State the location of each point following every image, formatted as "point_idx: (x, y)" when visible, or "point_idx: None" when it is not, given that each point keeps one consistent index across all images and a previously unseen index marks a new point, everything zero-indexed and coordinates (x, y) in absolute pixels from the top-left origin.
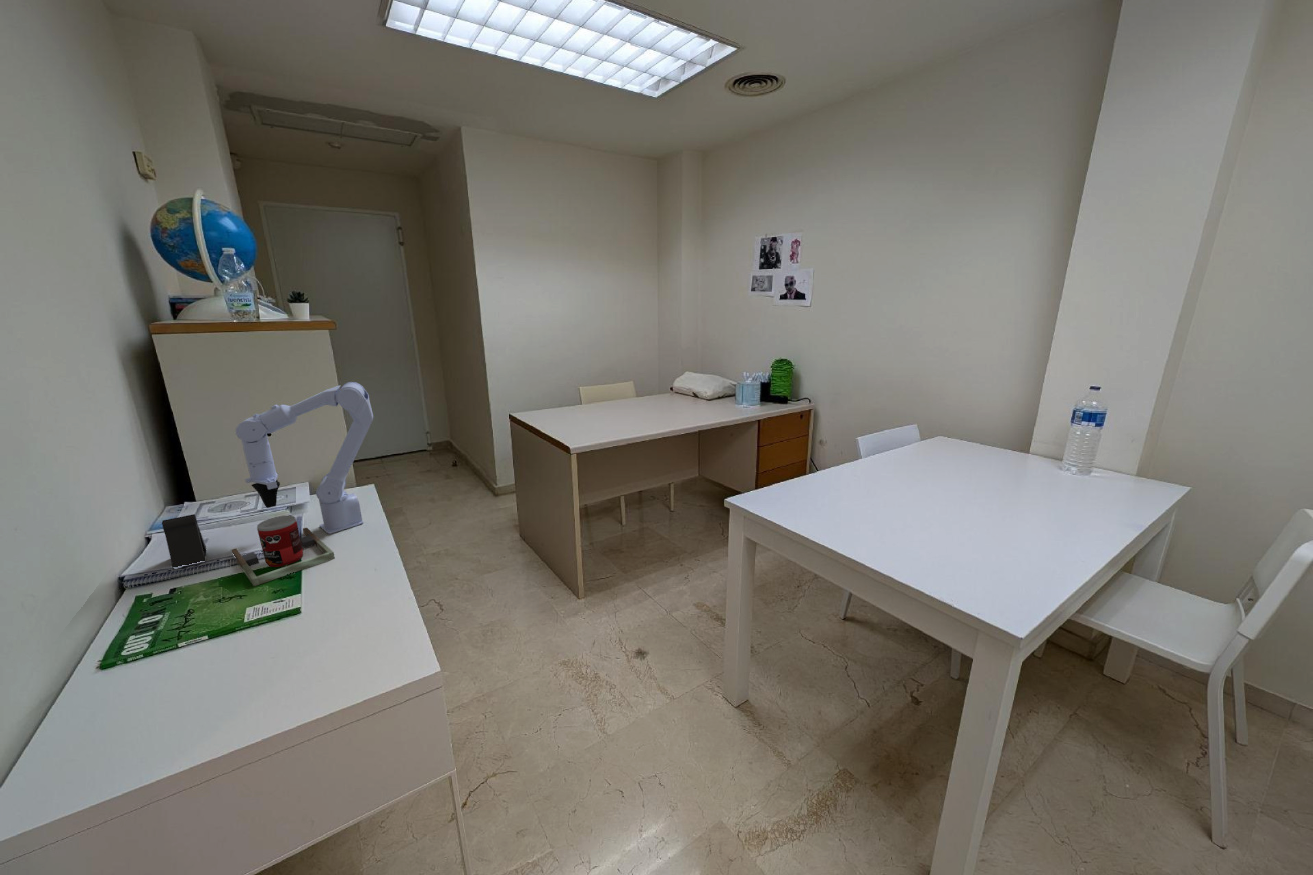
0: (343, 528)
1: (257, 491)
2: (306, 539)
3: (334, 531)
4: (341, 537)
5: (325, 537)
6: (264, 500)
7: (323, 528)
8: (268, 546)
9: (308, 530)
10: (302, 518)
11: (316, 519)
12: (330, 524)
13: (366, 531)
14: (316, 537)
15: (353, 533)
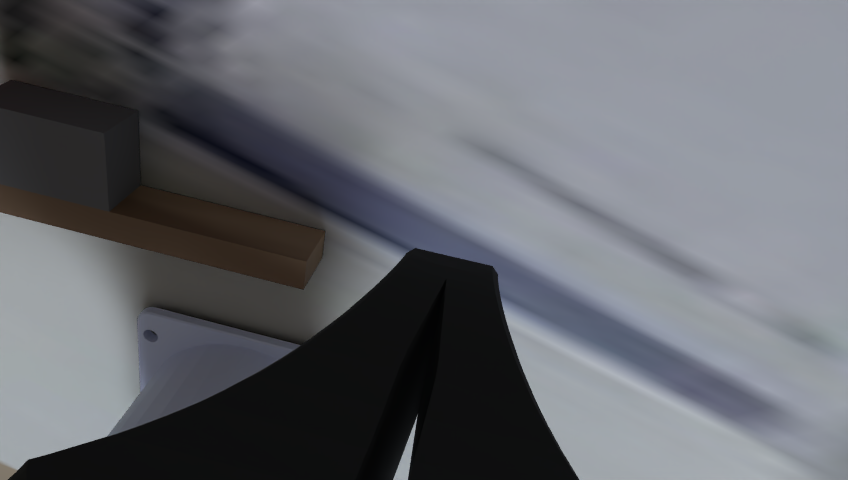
0: (140, 392)
1: (416, 476)
2: (20, 148)
3: (140, 342)
4: (30, 308)
5: (116, 265)
6: (336, 323)
7: (258, 343)
8: None
9: (218, 259)
10: (696, 406)
11: None
12: (157, 384)
13: (13, 417)
14: (8, 208)
15: (41, 373)
